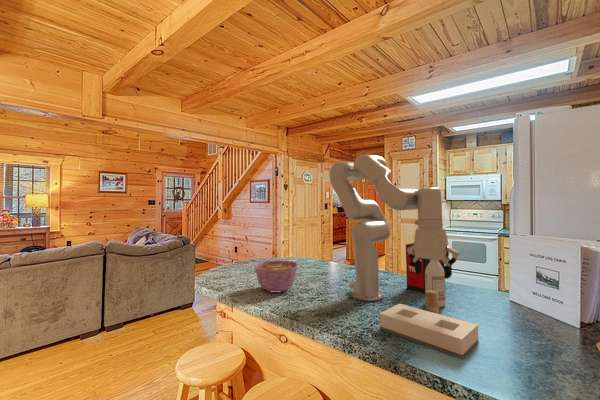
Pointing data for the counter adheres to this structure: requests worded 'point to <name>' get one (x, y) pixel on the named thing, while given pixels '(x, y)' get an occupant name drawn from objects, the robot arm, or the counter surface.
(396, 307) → the hole block
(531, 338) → the counter surface
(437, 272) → the bath foam
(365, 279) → the robot arm
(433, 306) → the oak pin
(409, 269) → the cleaning product box
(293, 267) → the bowl of food
